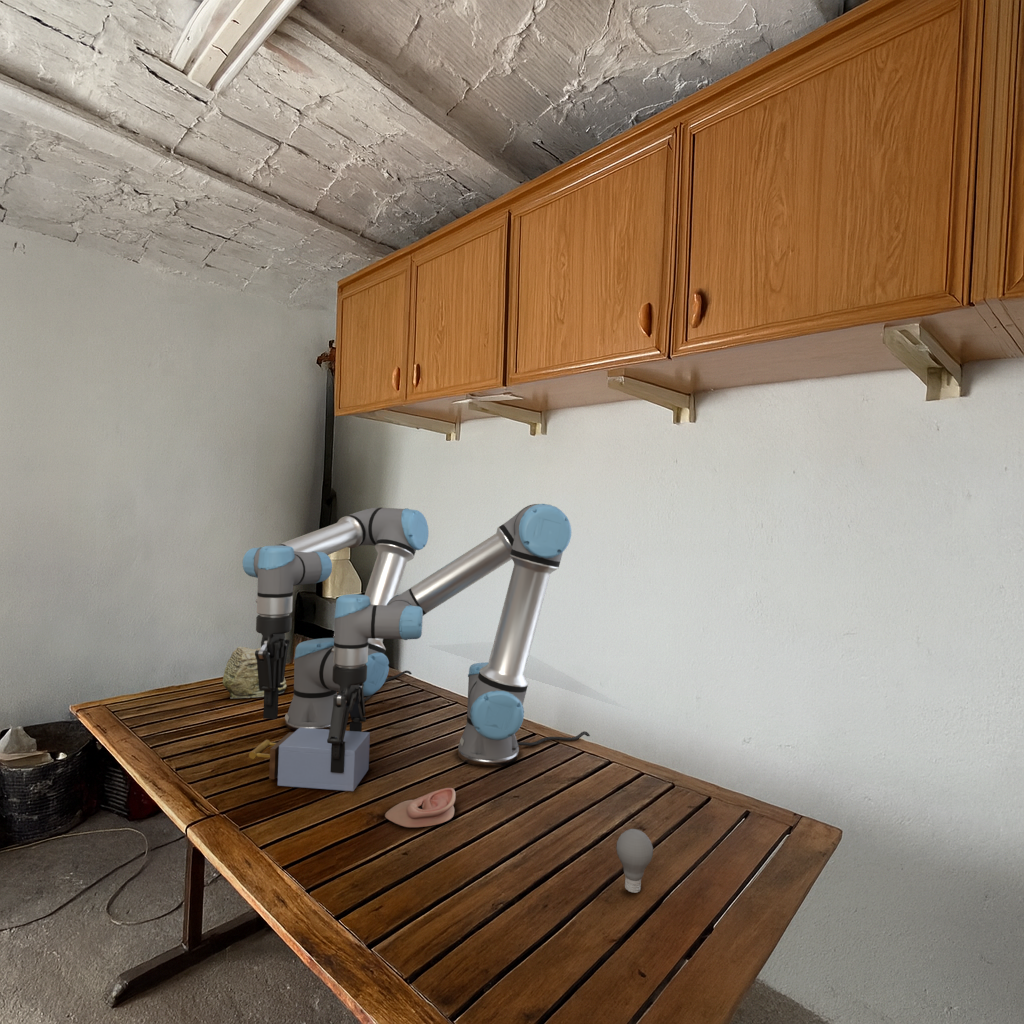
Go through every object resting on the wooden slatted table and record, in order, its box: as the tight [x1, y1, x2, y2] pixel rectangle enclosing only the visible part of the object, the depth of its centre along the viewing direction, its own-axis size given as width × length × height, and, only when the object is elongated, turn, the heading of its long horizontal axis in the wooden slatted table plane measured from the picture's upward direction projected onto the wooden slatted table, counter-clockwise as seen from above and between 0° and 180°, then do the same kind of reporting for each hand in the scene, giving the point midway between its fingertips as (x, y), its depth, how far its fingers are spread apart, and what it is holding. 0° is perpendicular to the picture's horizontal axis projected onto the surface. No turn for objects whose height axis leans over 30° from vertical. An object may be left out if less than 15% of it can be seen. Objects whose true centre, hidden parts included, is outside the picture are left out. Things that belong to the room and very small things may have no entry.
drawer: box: [248, 731, 295, 780], centre depth 143 cm, size 21×10×7 cm, turn 86°
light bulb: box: [615, 828, 654, 894], centre depth 106 cm, size 6×6×10 cm
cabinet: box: [277, 728, 371, 792], centre depth 143 cm, size 17×11×9 cm, turn 86°
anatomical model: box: [384, 787, 457, 828], centre depth 128 cm, size 13×4×12 cm
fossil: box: [222, 646, 288, 699], centre depth 198 cm, size 9×18×15 cm, turn 132°
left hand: (270, 717), depth 144 cm, fingers closed
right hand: (346, 760), depth 143 cm, fingers closed on cabinet, 11 cm apart
